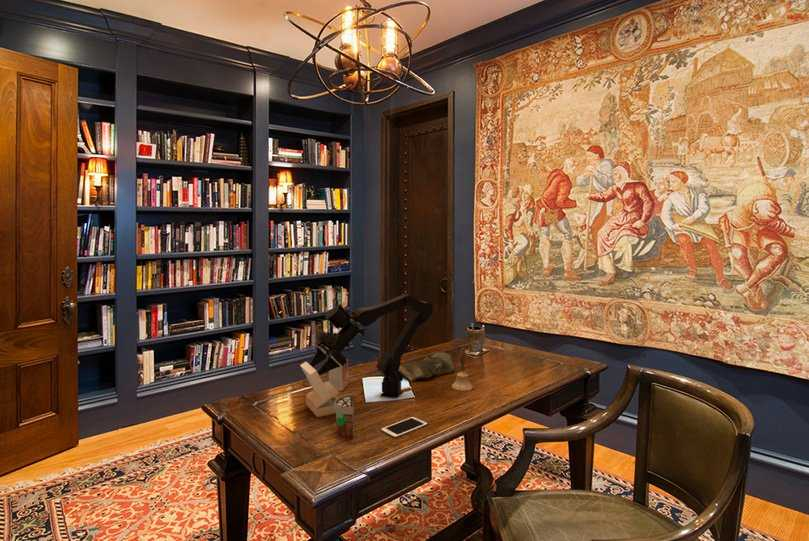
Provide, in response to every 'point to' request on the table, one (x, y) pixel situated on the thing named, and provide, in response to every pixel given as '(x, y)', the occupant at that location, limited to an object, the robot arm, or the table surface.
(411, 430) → the cell phone
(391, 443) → the table surface
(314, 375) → the flap
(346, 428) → the food container
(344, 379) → the small box
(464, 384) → the hand bell
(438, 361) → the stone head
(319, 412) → the carton
